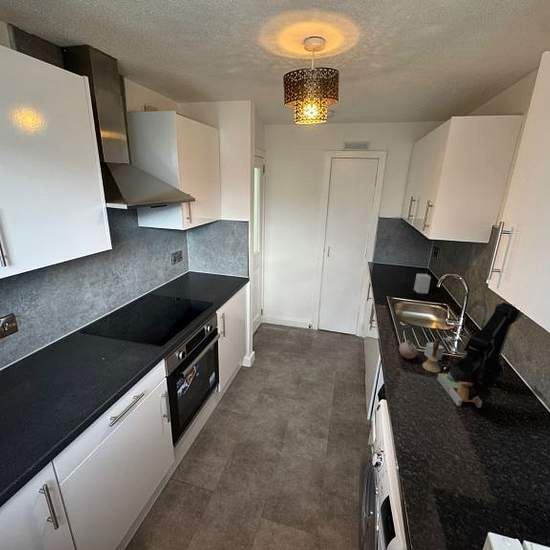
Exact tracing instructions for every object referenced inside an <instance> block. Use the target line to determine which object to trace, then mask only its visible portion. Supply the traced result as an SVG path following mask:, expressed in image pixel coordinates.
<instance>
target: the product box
mask: <svg viewBox="0 0 550 550" xmlns="http://www.w3.org/2000/svg"><path fill="white" fill-rule="evenodd" d="M433 343H434V342H426V346H425V350H424V354H423V355H424V356H426V358H428V357H429V356H432V353H433ZM444 351H445V347H444V346H443V345H441V344H439V348H438V350H437V351H436V358H437V359H438V361H441V360H442V359H443V356H444Z"/></svg>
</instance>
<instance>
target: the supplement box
mask: <svg viewBox="0 0 550 550" xmlns="http://www.w3.org/2000/svg"><path fill="white" fill-rule="evenodd" d="M431 279H432V277H431V275H429V274H428V273H416V275H415V280H414V287H413V291H415V292H416V293H417V294H426V295H427V294H428V295H429V290H430V283H431Z"/></svg>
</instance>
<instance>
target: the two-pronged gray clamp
mask: <svg viewBox="0 0 550 550" xmlns="http://www.w3.org/2000/svg"><path fill="white" fill-rule="evenodd" d="M436 380H438V382H439V383H440V384H441V386H442V387H443V389H444V390H445V391H446V393H447V394H448V395H449V396H450V397H451V399H452V400H453V402H454V403H455V404H456V406H457V407H461V406H462V403H463V401H462V399H461V398H460V397H459V395H458V394H457V389H458V386H459V382H460V381H455V380H454V379H453V378H452V376H451V375H450V371H448V372H447V373H440V372H438V374H437V378H436ZM473 404H474V405H475V406H476V407H477V408H480V409H481V408H482V404H483V400H482V399H481V397H480V396H477V397H476V400H475V402H473Z"/></svg>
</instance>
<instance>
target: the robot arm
mask: <svg viewBox="0 0 550 550" xmlns="http://www.w3.org/2000/svg"><path fill="white" fill-rule="evenodd" d="M512 305H513V304H510V303H507V302H502V303H497V304H496V305H495V308H494V311H493V313H492V315H491V316H490V317H489V319H488V320H487V322H486V323H485V325H484V326H483V328H482V329H480V330H476V331H475V333H473V335H470V337H469V339H468V341H467V343H466V344H465V347H464V348H463V352H466V353H467V354H466V355H464V356H463V357H462V358H460V359H459V360H458V361H457V362H455V363H454V364H452V367H450V368H449V372H450V375H451V376H452V378H453V379H454V380H455V381H460V382H470V383H472V384H473V385H471V387H467V388H468V389H469V395H468V400H472V399H474V398H475V397H476V396H478V397H483V398H485V397H486V398H487V397H488V398H491V397H492V393H493V392H492V389H490V388H489V387H491V386H490V385H493V386H494V384H497V382H498V381H499V378H500V377H502V378H503V376H504V373H505V368H504V367H505V366H504V357H503V353H502V352H503V349H504V348H505V345H506V342H507V338H508V335H509V333H510V331H511V328H512V325H513V324H514V323H516V322H517V321H519V319H520V318H521V317H522V315H523V312H522V313H521V312H520V311H519V310H517V309H516V308H515V307H513V306H512Z"/></svg>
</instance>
